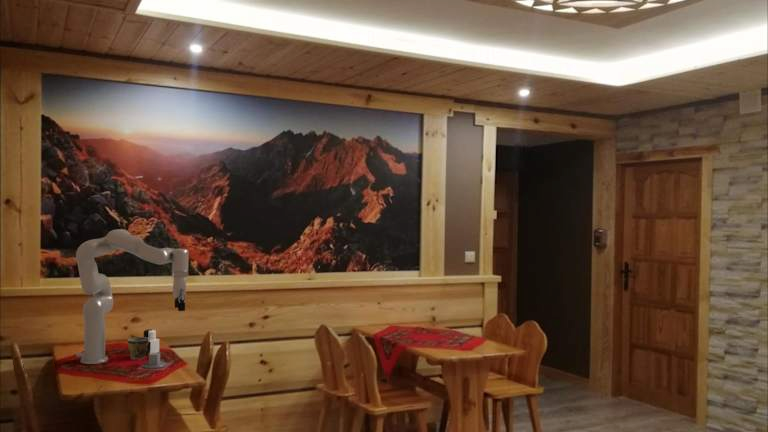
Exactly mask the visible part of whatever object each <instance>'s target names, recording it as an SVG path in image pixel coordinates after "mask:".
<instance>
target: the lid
mask: <svg viewBox="0 0 768 432" xmlns="http://www.w3.org/2000/svg"><path fill="white" fill-rule="evenodd" d="M167 363H168V362H165V361H162V360H161V352H158V353H151V354H149V355H148V362H143V363H142V364H141V365H142V367H143V368H145V369H160V368H164V367H166V366H167Z"/></svg>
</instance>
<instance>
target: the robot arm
mask: <svg viewBox="0 0 768 432" xmlns="http://www.w3.org/2000/svg"><path fill="white" fill-rule="evenodd" d="M117 250H121V251H123V252H127V253H130V254H132V255H134V256H136V257H138V258H139V259H142V260H144V261H146V262H148V263H152V264H156V265H161V266H162V265H165V264H170V263H172V264H171V266H172V267H171V273H172V274H171V278H173V280H172V281H173V282H172V296H173V297H174V308H175V309H177V311H178V312H185V311H186V298H187V297H186V296H187V278H189V255H190V252H189V249H187V248H173V247H163V248H158V247H155V246H152V245H150V244H147V243H146V242H145V241H144V239H143V238H141V237H139V236H136V235H133V234H131V233H130V231H128V230H127V229H125V228H124V229H123V228H120V229H112V230H111V231H108V233H107V234H106V236H104V237H101V238H94V239H89V240H87V241H85V242H83V243H82V244H80V245H79V247H77V250H76V253H75V260H76V263H77V268H78V273H79V279H80V285H81V289H82V292H83V293H84V294H85V295H88V296H93V297H90V298H89V299H87V300H86V301H85V302H84V303H83V305H82V306H83V307H82V314H83V320H84V321H83V322H84V323H83V325H84V328H83V329H84V336H83V338H84V339H83V343H84V345H83V352H80V351H79V352H78V351H77V352H76V353H75V354H76V358H80V363H81V364H85V365H98V364H103V363H107V362H108V361H109V357H108V356H106V320H105V314H108V313H110V312H111V310H112V309H113V307H114V298H113V297H114V296H113V292H112V287H111V282H110V279H109V278H108V277H107V276H106V274H102V273H99V270H98V263H97V262H96V261H95V258H96V257H100V256H105V255H106V256H107V255H109V254H110V253H113V252H115V251H117Z"/></svg>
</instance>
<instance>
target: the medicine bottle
mask: <svg viewBox="0 0 768 432" xmlns="http://www.w3.org/2000/svg"><path fill="white" fill-rule="evenodd" d="M143 337H146V338H149V341H148V345H147V349H146V354H148V355H147V356H149V354H151V353H160V338H157V331H156V330H155V329H145V330H144V331H143ZM146 354H145V355H146Z"/></svg>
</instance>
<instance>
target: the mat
mask: <svg viewBox="0 0 768 432" xmlns="http://www.w3.org/2000/svg"><path fill="white" fill-rule="evenodd" d="M166 363H167V366H166V367H164V368H160V369H145V368H143V367H142V364H141V365H140V366H139V367H137V368H136V370H141V371H142V370H144V371H164V370H167V368H168V367H170V366H171V365H172V364H173V362H166Z"/></svg>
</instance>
